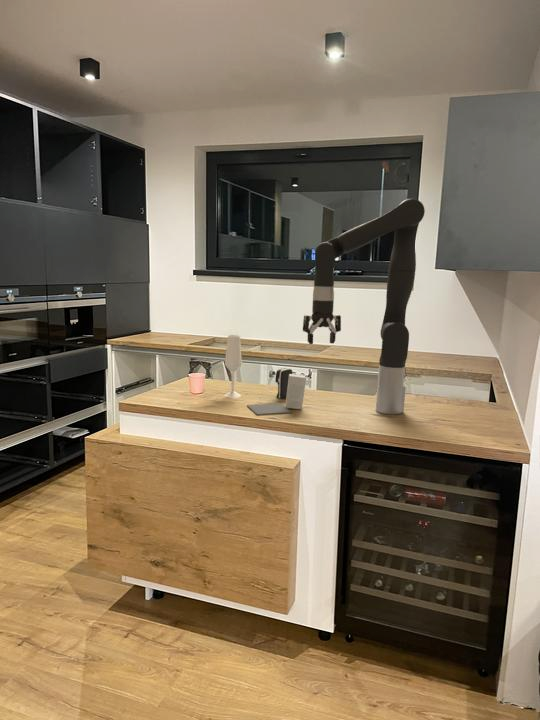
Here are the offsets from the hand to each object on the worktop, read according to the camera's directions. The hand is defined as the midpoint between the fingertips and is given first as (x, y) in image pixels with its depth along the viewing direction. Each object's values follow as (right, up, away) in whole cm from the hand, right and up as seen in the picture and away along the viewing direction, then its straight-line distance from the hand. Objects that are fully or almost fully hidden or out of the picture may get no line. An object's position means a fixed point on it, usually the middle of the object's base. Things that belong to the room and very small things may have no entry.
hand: (321, 343), depth 191 cm
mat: (-19, -24, -2) cm, 31 cm away
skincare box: (-10, -24, +1) cm, 26 cm away
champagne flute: (-34, -20, +16) cm, 42 cm away
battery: (-14, -21, +17) cm, 30 cm away
